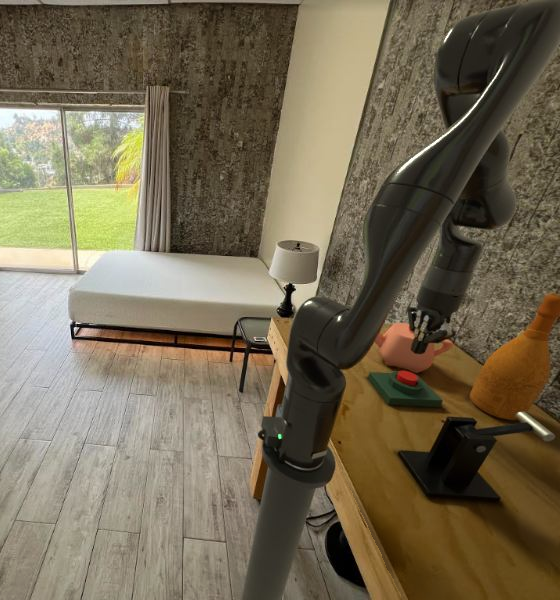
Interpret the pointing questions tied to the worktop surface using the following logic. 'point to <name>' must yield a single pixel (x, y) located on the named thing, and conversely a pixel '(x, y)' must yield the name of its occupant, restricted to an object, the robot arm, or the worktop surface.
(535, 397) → the wine bottle
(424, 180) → the robot arm
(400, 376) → the button
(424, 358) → the teapot
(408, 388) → the button block
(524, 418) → the lever
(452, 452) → the bracket
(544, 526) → the worktop surface
